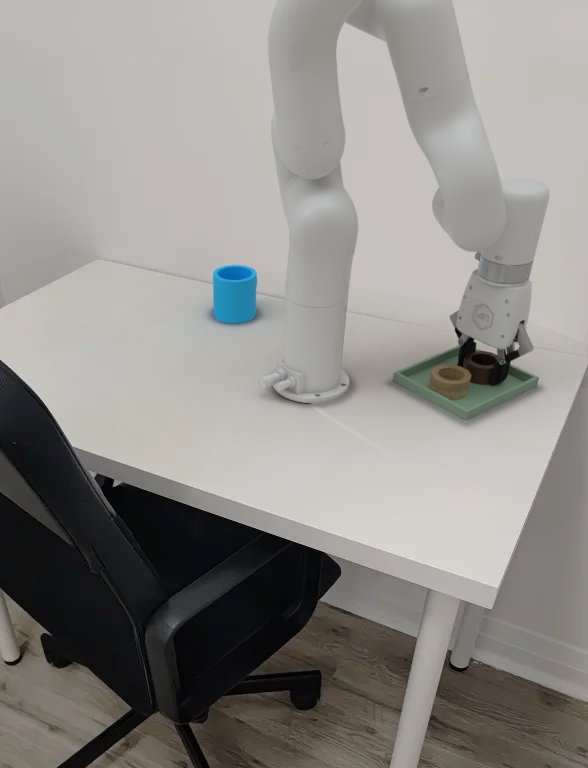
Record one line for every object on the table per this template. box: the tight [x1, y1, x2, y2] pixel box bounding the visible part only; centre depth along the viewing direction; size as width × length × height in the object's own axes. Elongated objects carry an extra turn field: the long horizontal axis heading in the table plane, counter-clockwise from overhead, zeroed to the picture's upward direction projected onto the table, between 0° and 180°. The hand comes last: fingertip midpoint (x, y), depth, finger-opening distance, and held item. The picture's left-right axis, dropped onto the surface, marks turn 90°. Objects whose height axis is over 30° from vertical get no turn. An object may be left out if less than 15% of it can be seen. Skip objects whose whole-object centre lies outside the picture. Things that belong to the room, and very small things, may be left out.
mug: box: [212, 264, 258, 324], centre depth 147 cm, size 12×8×8 cm
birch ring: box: [429, 365, 471, 400], centre depth 123 cm, size 6×6×3 cm
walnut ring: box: [462, 350, 498, 385], centre depth 126 cm, size 6×6×3 cm
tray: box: [392, 344, 540, 421], centre depth 125 cm, size 17×15×2 cm
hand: (480, 373), depth 127 cm, fingers closed on walnut ring, 6 cm apart
